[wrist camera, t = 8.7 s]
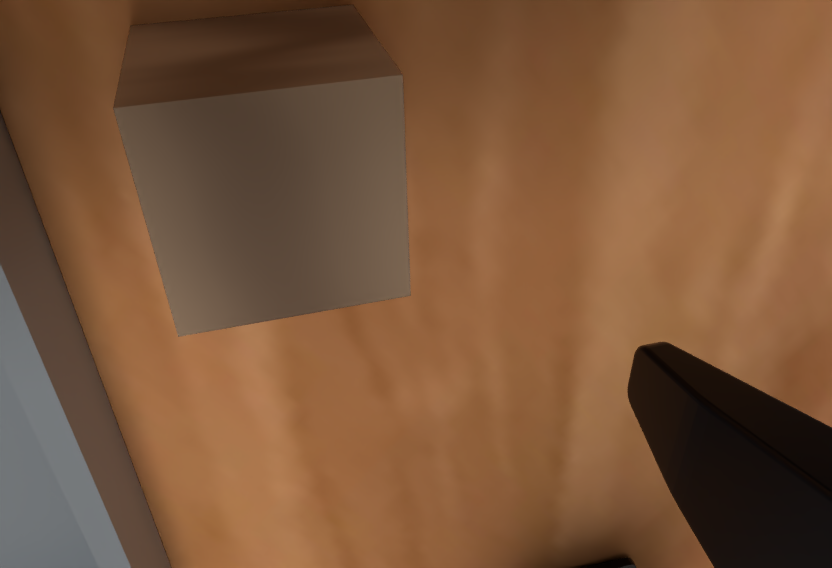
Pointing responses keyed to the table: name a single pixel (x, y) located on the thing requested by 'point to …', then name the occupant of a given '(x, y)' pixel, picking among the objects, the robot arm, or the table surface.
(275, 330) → the table surface
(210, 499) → the table surface
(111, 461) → the tote
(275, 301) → the walnut cube
